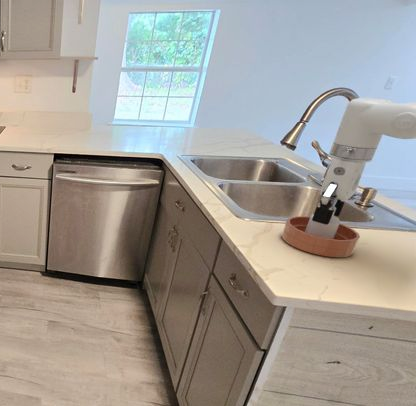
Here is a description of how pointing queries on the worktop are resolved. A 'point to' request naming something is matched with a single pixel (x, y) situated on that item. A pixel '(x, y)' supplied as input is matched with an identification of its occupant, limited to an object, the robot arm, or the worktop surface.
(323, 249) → the bowl
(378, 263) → the worktop surface
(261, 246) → the worktop surface
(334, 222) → the eye dropper bottle
